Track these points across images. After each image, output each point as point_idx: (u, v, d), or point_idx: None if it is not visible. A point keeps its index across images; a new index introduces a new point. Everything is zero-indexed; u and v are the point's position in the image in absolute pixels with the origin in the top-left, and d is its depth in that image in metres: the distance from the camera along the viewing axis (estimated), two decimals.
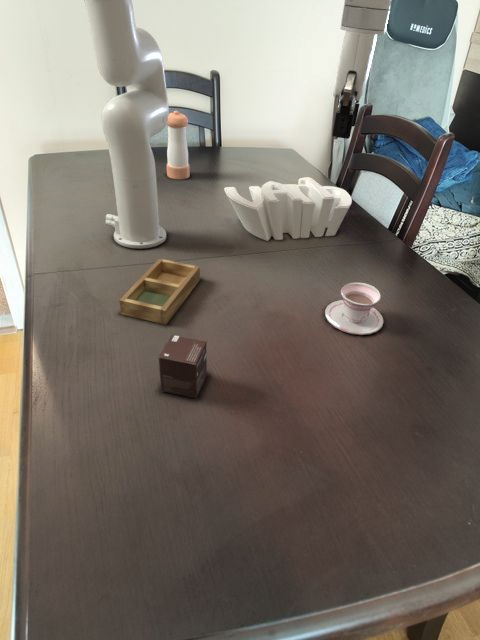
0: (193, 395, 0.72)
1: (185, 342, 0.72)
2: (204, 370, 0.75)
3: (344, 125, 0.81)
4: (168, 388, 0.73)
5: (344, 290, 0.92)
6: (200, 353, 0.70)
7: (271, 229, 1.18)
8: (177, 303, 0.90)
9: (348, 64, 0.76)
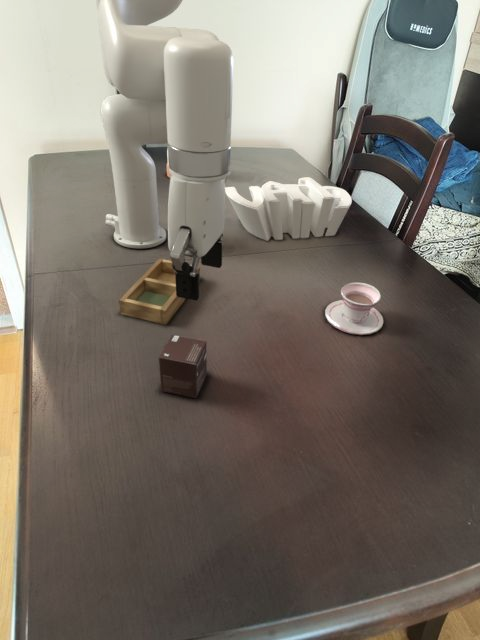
0: (193, 395, 0.72)
1: (185, 342, 0.72)
2: (204, 370, 0.75)
3: (187, 287, 0.61)
4: (168, 388, 0.73)
5: (344, 290, 0.92)
6: (200, 353, 0.70)
7: (271, 229, 1.18)
8: (177, 303, 0.90)
9: (178, 218, 0.56)
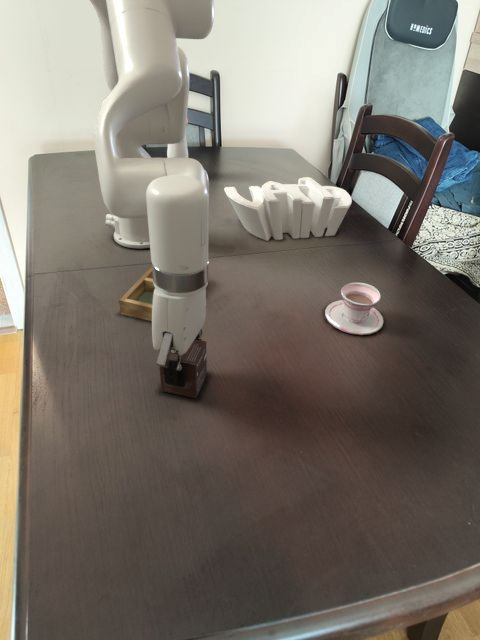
0: (193, 395, 0.72)
1: None
2: (204, 370, 0.75)
3: (174, 378, 0.69)
4: (168, 388, 0.73)
5: (344, 290, 0.92)
6: (200, 353, 0.70)
7: (271, 229, 1.18)
8: None
9: (161, 325, 0.62)
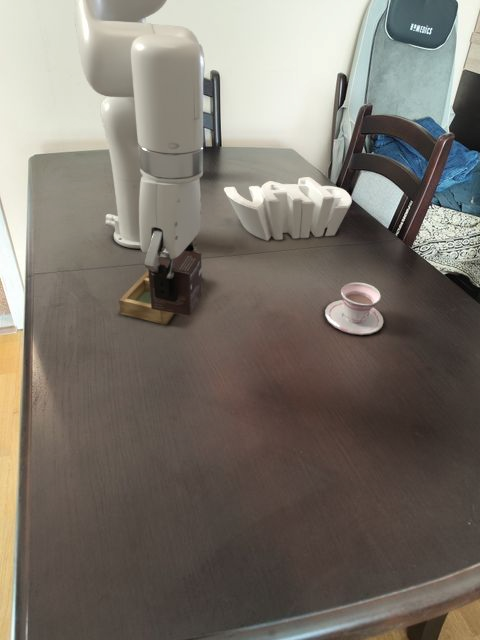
0: (186, 313, 0.66)
1: None
2: (199, 288, 0.68)
3: (164, 289, 0.62)
4: (159, 304, 0.66)
5: (344, 290, 0.92)
6: (194, 264, 0.63)
7: (271, 229, 1.18)
8: None
9: (149, 220, 0.55)
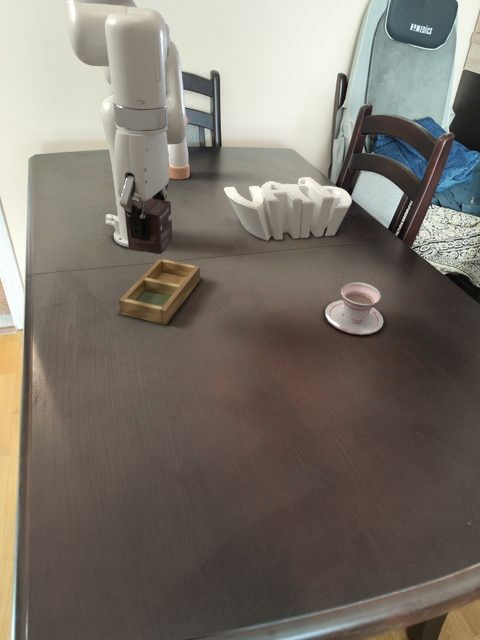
0: (158, 251, 0.78)
1: (150, 201, 0.77)
2: (169, 232, 0.80)
3: (138, 228, 0.74)
4: (134, 244, 0.78)
5: (344, 290, 0.92)
6: (163, 208, 0.76)
7: (271, 229, 1.18)
8: (177, 303, 0.90)
9: (123, 166, 0.68)
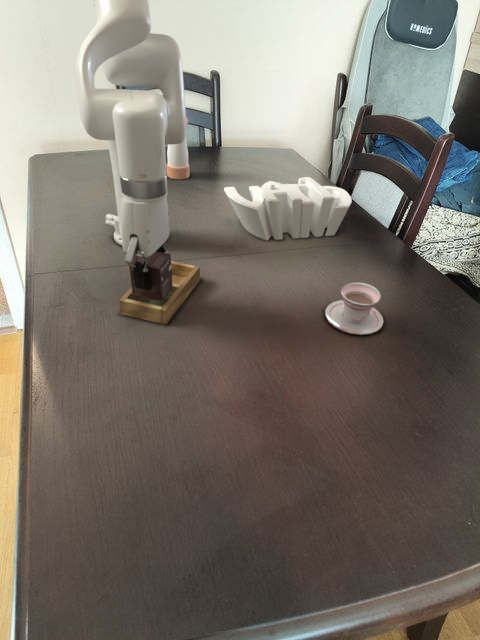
0: (159, 299, 0.86)
1: (152, 254, 0.86)
2: (169, 280, 0.89)
3: (141, 280, 0.82)
4: (138, 293, 0.86)
5: (344, 290, 0.92)
6: (164, 261, 0.84)
7: (271, 229, 1.19)
8: (177, 303, 0.90)
9: (128, 228, 0.76)
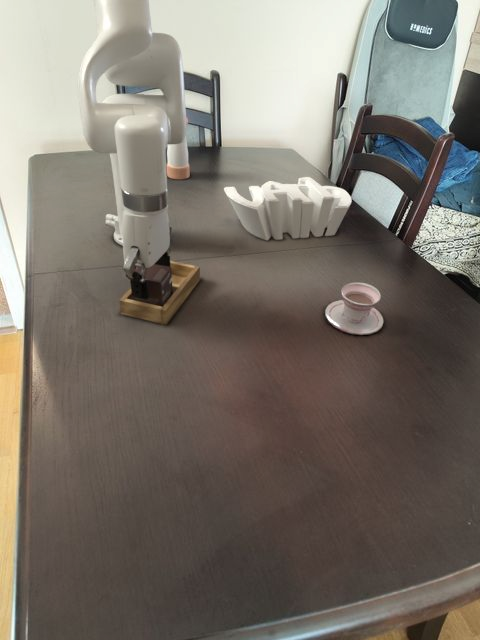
0: None
1: (153, 267, 0.88)
2: (170, 292, 0.90)
3: (138, 290, 0.82)
4: None
5: (344, 290, 0.92)
6: (165, 275, 0.86)
7: (271, 229, 1.19)
8: (177, 303, 0.90)
9: (129, 240, 0.77)
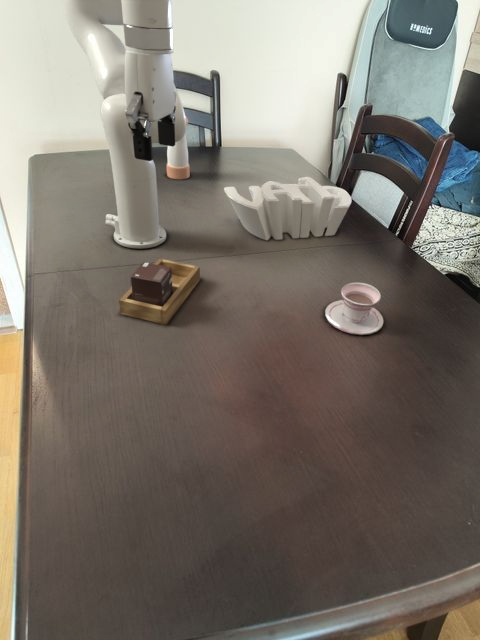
0: None
1: (153, 267, 0.88)
2: (170, 292, 0.90)
3: (141, 147, 0.78)
4: None
5: (344, 290, 0.92)
6: (165, 275, 0.86)
7: (271, 229, 1.19)
8: (177, 303, 0.90)
9: (132, 85, 0.73)
